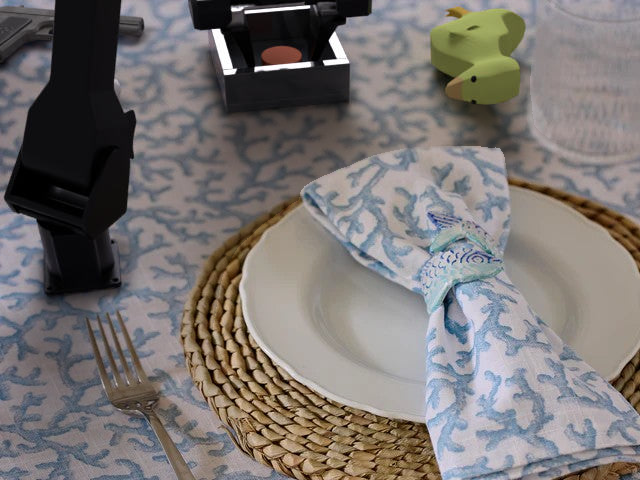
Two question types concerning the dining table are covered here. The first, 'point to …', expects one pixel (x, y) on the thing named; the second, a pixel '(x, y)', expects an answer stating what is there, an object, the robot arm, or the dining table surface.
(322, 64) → the dark grey open box
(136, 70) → the dining table surface
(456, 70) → the toy
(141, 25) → the pistol
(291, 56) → the stopper
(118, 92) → the white bumpy ball
